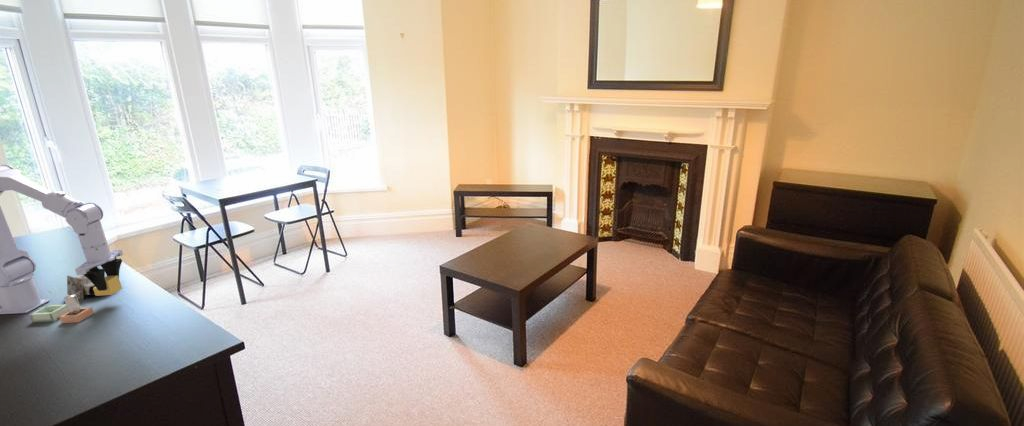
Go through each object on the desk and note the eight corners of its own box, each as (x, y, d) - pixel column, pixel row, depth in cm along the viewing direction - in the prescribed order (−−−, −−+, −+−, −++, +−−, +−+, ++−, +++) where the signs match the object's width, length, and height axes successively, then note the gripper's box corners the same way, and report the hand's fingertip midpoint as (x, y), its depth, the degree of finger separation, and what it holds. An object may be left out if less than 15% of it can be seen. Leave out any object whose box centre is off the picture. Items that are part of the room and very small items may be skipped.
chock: (95, 295, 142) (90, 282, 140) (106, 289, 146) (101, 276, 144) (112, 294, 142) (107, 281, 140) (122, 288, 146) (117, 275, 144)
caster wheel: (125, 294, 156) (92, 305, 147) (99, 285, 159) (65, 295, 149) (125, 276, 155) (92, 285, 145) (99, 267, 157) (65, 275, 148)
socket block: (61, 323, 135) (59, 316, 134) (77, 314, 139) (74, 308, 139) (79, 322, 134) (76, 316, 134) (93, 313, 139) (91, 307, 139)
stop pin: (69, 320, 136) (61, 298, 134) (77, 316, 138) (69, 294, 136) (78, 320, 136) (70, 298, 133) (86, 315, 138) (78, 294, 136)
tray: (32, 322, 136) (29, 314, 135) (49, 312, 141) (46, 305, 140) (54, 321, 136) (51, 313, 135) (71, 311, 141) (68, 304, 140)
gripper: (87, 253, 132) (102, 297, 136) (127, 235, 146) (139, 275, 150) (62, 254, 132) (78, 298, 136) (104, 236, 146) (117, 276, 150)
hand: (108, 286), depth 143 cm, fingers closed on chock, 4 cm apart
